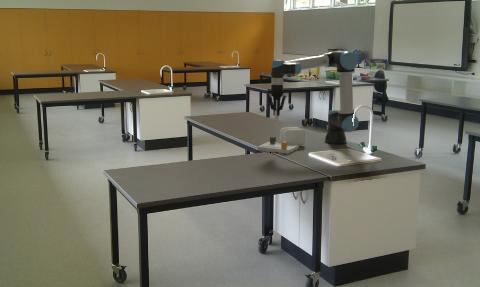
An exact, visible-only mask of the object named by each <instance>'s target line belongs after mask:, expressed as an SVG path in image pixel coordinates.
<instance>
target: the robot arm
mask: <svg viewBox="0 0 480 287" xmlns="http://www.w3.org/2000/svg"><path fill="white" fill-rule="evenodd" d="M358 61H359V60H358V57H357V55H356V54H355V53H354V52H352V51H349V50H335V51H329V52H325V53H323V54H322V55H318V56H315V55H314V56H309V57H303V58H297V59H291V60H283V59H273V60H272V61H271V82H270V83H271V85H270V93H269V94H267V95H266V96H267V98H268V102H269V107H270V110H272V112H273V114H272V115H273V116H274V120H273V121H274V122H277V121H279V116H280V114H281V111H282V110H283V109H284V105H285V101H286V98H287V97H288V96H287V95H286V94H284V85H283V84H284V76H285V75H286V76H287V75H289V76H291V75H293V76H296V75H299V74H301V72H302V71H303V70H310V69H317V68H321V67H322V68H335V69H336V73H337V74H338V75H339V76H338V78H339V80H338V81H339V107H340V108H339V109H332V110H331V109H330V110H329V111H328V115H327V116H328V119H327V122H328V123H327V132H326V135H325V136H324V142H325V143H327V144H333V145H340V144H339V143H344V142H346V143H347V136H346V132H347V133H351V132H354V131H355V130H356V129H357V128H358V126H359V123H360V121H359V119H358V117H357V116H356V115H355V119H354V126H353V122H352V118H353V114H354V111H355V112H356V110H354V101H353V100H354V97H353V96H354V95H353V94H354V93H353V92H354V90H353V86H354V85H353V73H355V69H356V67H357V66H358ZM344 144H345V143H344Z"/></svg>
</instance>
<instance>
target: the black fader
mask: <svg viewBox="0 0 480 287" xmlns="http://www.w3.org/2000/svg"><path fill="white" fill-rule="evenodd" d="M276 140H277V138H276V136H269V142H270V143H277V141H276Z"/></svg>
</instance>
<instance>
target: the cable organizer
mask: <svg viewBox="0 0 480 287" xmlns="http://www.w3.org/2000/svg"><path fill="white" fill-rule="evenodd" d="M283 141H284V142H287V144H291V145H299V147H302V146H304V145H305V144H306V131H305V129H303V128H302V129H301V128H300V127H298V126H296V127H295V126H294V127H292V126H291V127H281V128H280V130H279V143H281V142H283Z"/></svg>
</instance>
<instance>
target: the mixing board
mask: <svg viewBox="0 0 480 287" xmlns="http://www.w3.org/2000/svg"><path fill="white" fill-rule="evenodd" d="M299 148H300V146H299V145H291V144H287V148H286V149H283V148H281V142H276V143H270V141H267V142H264V143H263V144H261V145H258V146H257V151H261V152H268V153H269V152H270V153H276V152H278V153H277V154H284V153H286V154H285V155H289V153H290V154H292V153H293V151H294V152H295V150H296V151H298V150H299ZM297 149H298V150H297ZM291 152H292V153H291Z"/></svg>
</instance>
